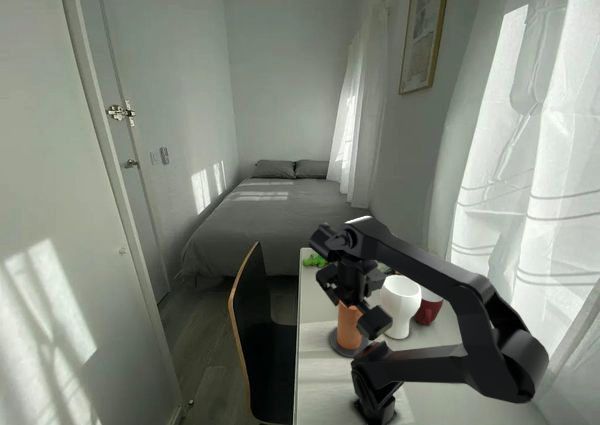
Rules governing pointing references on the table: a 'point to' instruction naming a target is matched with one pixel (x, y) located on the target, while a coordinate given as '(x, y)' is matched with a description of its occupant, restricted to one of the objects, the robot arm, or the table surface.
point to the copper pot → (348, 327)
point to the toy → (315, 260)
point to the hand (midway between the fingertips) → (349, 319)
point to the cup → (400, 303)
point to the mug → (428, 307)
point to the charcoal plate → (342, 350)
